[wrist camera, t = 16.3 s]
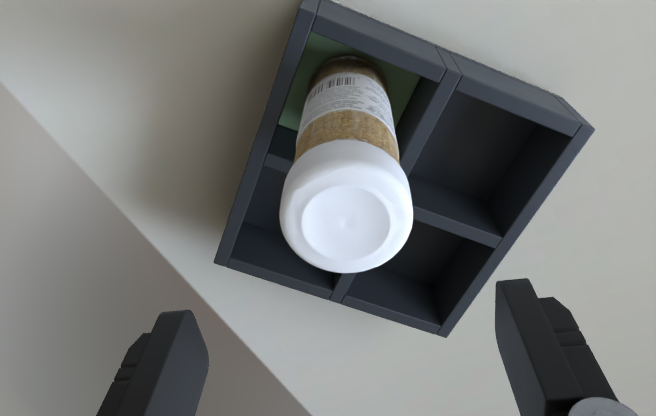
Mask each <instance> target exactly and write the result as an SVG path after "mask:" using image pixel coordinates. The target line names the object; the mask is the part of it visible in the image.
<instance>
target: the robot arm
mask: <svg viewBox="0 0 656 416" xmlns="http://www.w3.org/2000/svg"><path fill="white" fill-rule="evenodd" d="M495 332H496V339H497V344H498V348H499V351H500V354H501V357H502V360H503V364H504V367H505V370H506V373H507V376H508V379H509V382H510V385H511V388H512V391H513V394H514V397H515V400H516V403H517V406H518V409H519V412H520V415H521V416H638V415H637V414H636V413H635V412H634V411H633V410H631V409H630V408H629V407H627V406H625V405H624V404H622V403H620V402H619V401H618V399H617V398H616V396H615V394H614V392H613V391H612V389H611V387H610V385H609V383H608V381H607V379H606V378H605V376H604V374H603V372H602V370H601V368H600V366H599V364H598V363H597V361H596V359H595V357H594V355H593V353H592V351H591V350H590V348H589V346H588V345H587V344H586V340H585V338H584V336H583V335H582V333H581V331H579V327H578V325H577V323H576V321H575V320H574V318H573V316H572V314H571V312H570V311H569V310H568V309H567V308H566V307H565V306H563V305H562V304H561V303H560V302H559V301H557V300H556V299H555V298H554V297H547V298H538V297H537V295H536V293H535V291H534V289H533V287H532V285H531V283H530V281H529V279H527V278H525V279H515V280H504V281H497V282H496V300H495ZM208 367H209V358H208V351H207V348H206V345H205V343H204V340H203V338H202V335H201V332H200V330H199V327H198V325H197V322H196V319H195V317H194V314H193V313H192V311H191V310H182V311H170V312H162V313H161V314H160V315H159V316H158V318H157V321H156V323H155V325H154V327H153V330H152V332H151V333H143V334H142V335H141V336H140V337H139V339H138V340H137V341H136V342H135V343H134V344H133V345H132V346H131V347H130V348H129V349H128V352H127V354H126V355H125V358H124V360H123V362H122V364H121V368H119V370H118V372H117V374H116V376H115V378H114V382H112V384H111V386H110V388H109V390H108V393H107V395H106V397H105V399H104V401H103V403H102V405H101V407H100V409H99V411H98V413H97V415H96V416H195V413H196V410H197V407H198V403H199V400H200V397H201V393H202V390H203V386H204V383H205V380H206V377H207V372H208Z"/></svg>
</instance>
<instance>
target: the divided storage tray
mask: <svg viewBox="0 0 656 416" xmlns="http://www.w3.org/2000/svg"><path fill="white" fill-rule="evenodd" d="M346 54H352V55H357V56H361V57H364V58H366V59H368V60H370V61H372V62H373V63H374V64H375V65H377V66H378V67H379V68H380V70H381V71H382V73H383V74H384V76H385V78H386V81H387V84H388V92H389V98H388V99H389V102H390V106H391V111H392V117H393V123H394V129H395V134H396V139H397V144H398V150H399V162H400V167H401V168H402V170H403V171H404V173H405V175H406V177H407V180H408V183H409V188H410V193H411V199H412V206H413V224H412V228H411V231H410V234H409V236H408V239H407V241H406V242H405V244H404V245H403V247H402V248H401V249H400V250H399V252H398V253H396V254H395V255H394V256H393V257H392V258H391V259H390V260H388V261H387V262H385V263H383V264H382V265H380V266H378V267H375V268H372V269H369V270H366V271H362V272H356V273H337V272H331V271H327V270H323V269H320V268H318V267H315V266H313V265H311V264H309V263H308V262H306V261H305V260H303V259H302V258H301V257H299V256H298V255H297V254H296V253H295V252H294V251H293V250H292V248H291V247H290V246H289V244H288V243H287V241H286V239H285V237H284V235H283V232H282V229H281V225H280V218H279V213H280V204H281V197H282V192H283V187H284V183H285V180H286V177H287V175H288V173H289V171H290V169H291V167H292V166H293V164H294V159H295V155H296V140H297V136H298V131H299V127H300V122H301V118H302V114H303V110H304V106H305V102H306V99H307V89H308V85H309V81H310V79H311V77H312V76H313V74H314V72H315V71H316V69H317V68H318V67H319V66H320V65H321V64H323V63H324V62H325V61H327V60H328V59H330V58H334V57H336V56H339V55H346ZM594 131H595V129H594V128H593V127H592V126H591V125H590V124H589V123H588V122H587V121H586V120H585V119H584V118H583V117H582V116H581V115H580V114H579V113H578V112H577V111H576V110H575V109H574V108H573V107H572V106H570V105H569V104H568V103H567V102H566V101H565V100H564V99H563V98H562V97H559V96H557V95H555V94H552V93H550V92H547V91H545V90H543V89H540V88H538V87H535V86H533V85H531V84H528V83H526V82H523V81H521V80H519V79H516V78H514V77H512V76H509V75H507V74H504V73H502V72H500V71H497V70H495V69H492V68H490V67H488V66H485V65H483V64H480V63H478V62H476V61H473V60H471V59H468V58H466V57H464V56H461V55H459V54H456V53H454V52H452V51H449V50H447V49H445V48H442V47H440V46H437V45H435V44H433V43H430V42H428V41H425V40H423V39H421V38H418V37H416V36H413V35H411V34H409V33H406V32H404V31H401V30H399V29H397V28H394V27H392V26H389V25H387V24H385V23H382V22H380V21H378V20H375V19H373V18H370V17H368V16H366V15H363V14H361V13H358V12H356V11H354V10H351V9H349V8H346V7H344V6H342V5H339V4H337V3H334V2H332V1H330V0H303V1H302V3H301V5H300V7H299V9H298V12H297V15H296V18H295V21H294V24H293V27H292V30H291V33H290V36H289V39H288V42H287V45H286V48H285V51H284V54H283V57H282V60H281V63H280V66H279V69H278V72H277V75H276V78H275V81H274V84H273V87H272V90H271V93H270V96H269V99H268V102H267V105H266V108H265V111H264V114H263V117H262V120H261V123H260V126H259V128H258V131H257V134H256V137H255V140H254V143H253V146H252V149H251V152H250V155H249V158H248V161H247V164H246V167H245V170H244V173H243V176H242V179H241V182H240V185H239V188H238V191H237V194H236V197H235V200H234V203H233V206H232V209H231V212H230V215H229V218H228V221H227V224H226V227H225V230H224V233H223V236H222V239H221V242H220V245H219V248H218V250H217V253H216V256H215V259H214V263H215V264H218V265H221V266H225V267H226V266H227V268H230V269H233V270H237V271H240V272H243V273H246V274H249V275H252V276H255V277H258V278H261V279H264V280H268V281H271V282H274V283H277V284H280V285H283V286H286V287H289V288H292V289H295V290H299V291H302V292H305V293H308V294H311V295H314V296H317V297H320V298H323V299H326V300H328V299H329V300H330V301H333V302H336V303H341V304H342V305H345V306H348V307H351V308H354V309H357V310H361V311H364V312H367V313H370V314H373V315H376V316H379V317H382V318H385V319H388V320H392V321H395V322H398V323H401V324H404V325H407V326H410V327H413V328H416V329H419V330H423V331H426V332H429V333H432V334H436V335H439V336H442V337H445V338H447V336H448V335H449V334H450V332H451V331H452V329H453V328H454V327H455V325H456V324H457V322H458V321H459V320H460V318H461V317H462V315H463V314H464V313H465V311H466V310H467V308H468V307H469V306H470V304H471V303H472V301H473V300H474V299H475V297H476V296H477V294H478V293H479V292H480V290H481V289H482V287H483V286H484V285H485V283H486V282H487V280H488V279H489V278H490V276H491V275H492V273H493V272H494V271H495V269H496V268H497V266H498V265H499V264H500V262H501V261H502V259H503V258H504V257H505V255H506V254H507V252H508V251H509V250H510V248H511V247H512V245H513V244H514V243H515V241H516V240H517V238H518V237H519V236H520V234H521V233H522V231H523V230H524V229H525V227H526V226H527V224H528V223H529V222H530V220H531V219H532V217H533V216H534V215H535V213H536V212H537V210H538V209H539V208H540V206H541V205H542V203H543V202H544V201H545V199H546V198H547V196H548V195H549V194H550V192H551V191H552V189H553V188H554V187H555V185H556V184H557V182H558V181H559V180H560V178H561V177H562V175H563V174H564V173H565V171H566V170H567V168H568V167H569V166H570V164H571V163H572V161H573V160H574V159H575V157H576V156H577V154H578V153H579V152H580V150H581V149H582V147H583V146H584V145H585V143H586V142H587V140H588V139H589V138H590V136H591V135H592V133H593V132H594Z"/></svg>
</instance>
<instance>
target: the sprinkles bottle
mask: <svg viewBox="0 0 656 416" xmlns="http://www.w3.org/2000/svg"><path fill="white" fill-rule="evenodd" d="M388 98H389V92H388V84H387V81H386V78H385V76H384V74H383V73H382V71H381V70H380V68H379V67H378V66H377V65H375V64H374V63H373V62H372V61H370V60H368V59H366V58H364V57H361V56H357V55H352V54H346V55H339V56H336V57H334V58H330V59H328V60H327V61H325V62H324V63H323V64H321V65H320V66H319V67H318V68H317V69H316V71H315V72H314V74H313V76H312V77H311V79H310V81H309V85H308V89H307V99H306V102H305V106H304V110H303V114H302V118H301V122H300V127H299V131H298V136H297V140H296V155H295V159H294V164H293V166H292V167H291V169H290V171H289V173H288V175H287V177H286V180H285V183H284V187H283V192H282V197H281V204H280V213H279V218H280V225H281V229H282V232H283V235H284V237H285V239H286V241H287V243H288V244H289V246H290V247H291V248H292V250H293V251H294V252H295V253H296V254H297V255H298V256H299V257H301V258H302V259H303V260H305V261H306V262H308V263H309V264H311V265H313V266H315V267H318V268H320V269H323V270H327V271H331V272H337V273H356V272H362V271H366V270H369V269H372V268H375V267H378V266H380V265H382V264H383V263H385V262H387V261H388V260H390V259H391V258H392V257H393V256H394V255H395V254H396V253H398V252H399V250H400V249H401V248H402V247H403V245H404V244H405V242H406V241H407V239H408V236H409V234H410V231H411V228H412V224H413V206H412V199H411V193H410V188H409V183H408V180H407V177H406V175H405V173H404V171H403V170H402V168H401V167H400V162H399V150H398V144H397V139H396V134H395V129H394V123H393V117H392V111H391V106H390V102H389V99H388Z"/></svg>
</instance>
